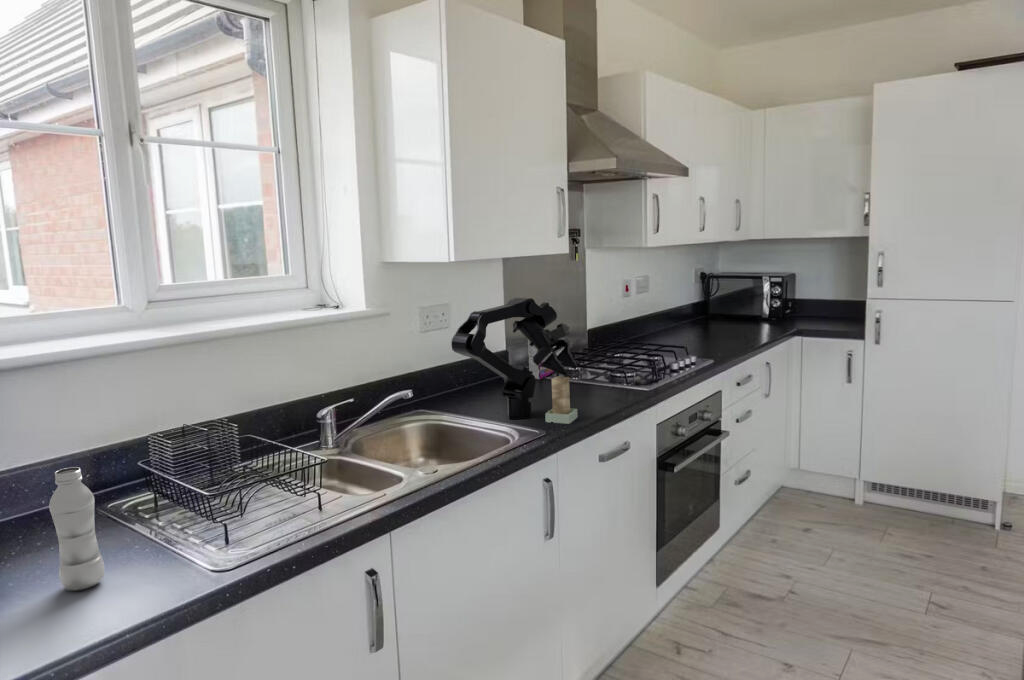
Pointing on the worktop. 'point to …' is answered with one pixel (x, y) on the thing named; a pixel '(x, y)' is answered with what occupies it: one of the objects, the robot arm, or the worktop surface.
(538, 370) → the candy bar box
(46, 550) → the worktop surface
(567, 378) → the tan wooden block
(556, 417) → the open square box
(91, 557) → the plastic bottle
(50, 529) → the worktop surface
